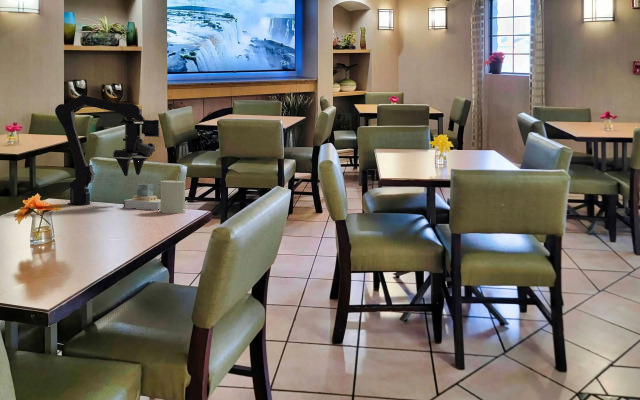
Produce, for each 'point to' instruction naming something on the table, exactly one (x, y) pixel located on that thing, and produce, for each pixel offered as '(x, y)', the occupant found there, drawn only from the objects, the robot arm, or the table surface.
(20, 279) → the table surface
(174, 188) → the can
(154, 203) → the dock
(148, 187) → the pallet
